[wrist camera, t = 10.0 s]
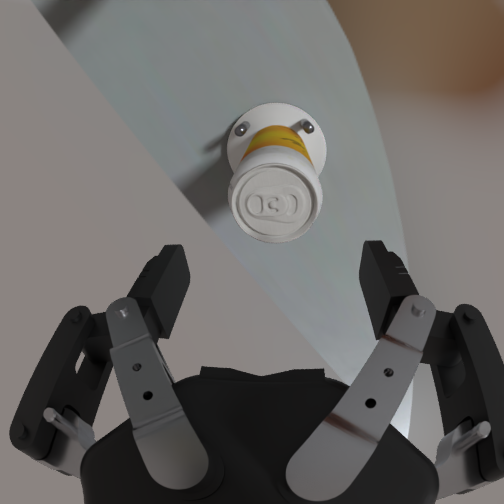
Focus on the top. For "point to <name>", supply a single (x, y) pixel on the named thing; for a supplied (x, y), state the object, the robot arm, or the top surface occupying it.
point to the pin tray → (276, 116)
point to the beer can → (275, 187)
